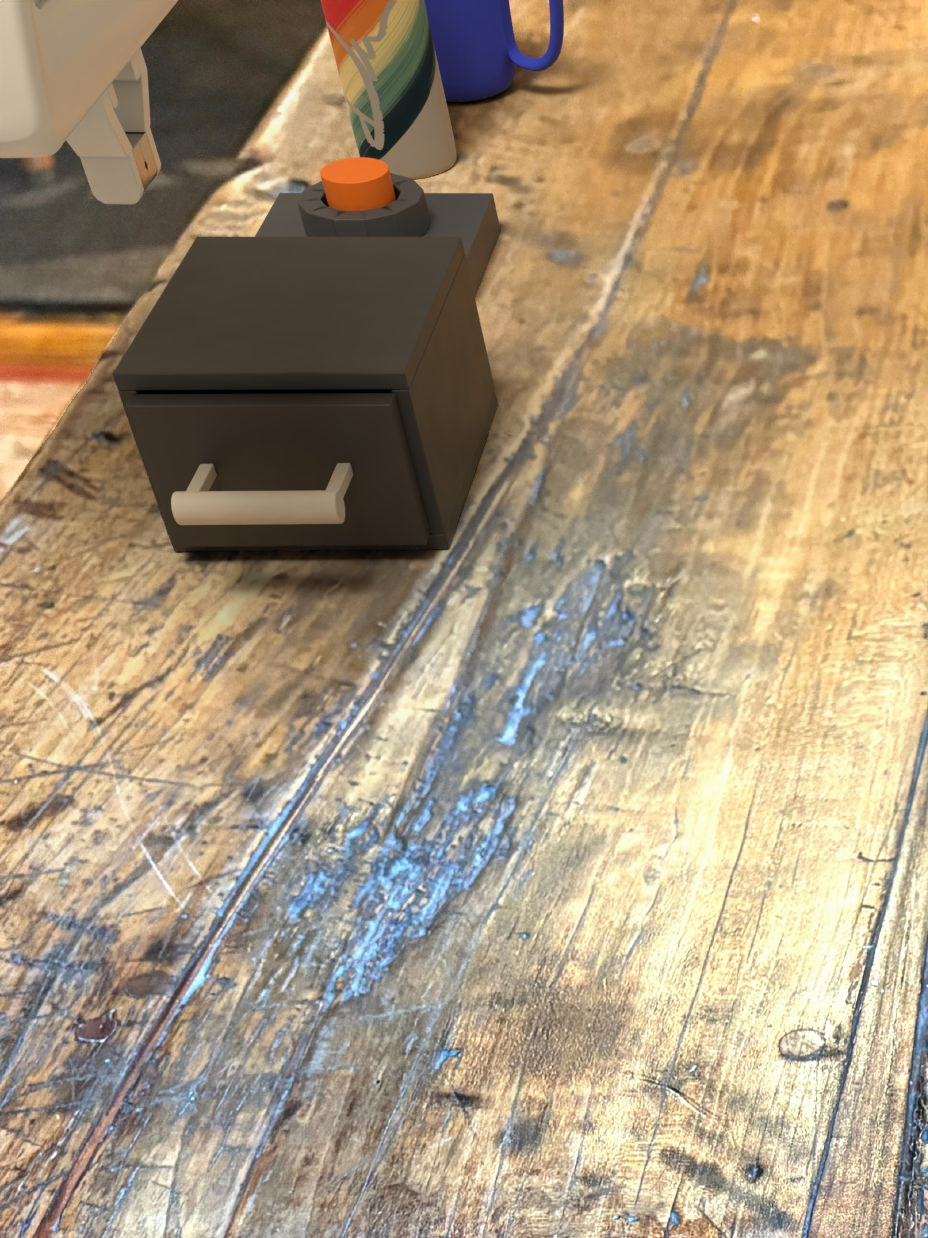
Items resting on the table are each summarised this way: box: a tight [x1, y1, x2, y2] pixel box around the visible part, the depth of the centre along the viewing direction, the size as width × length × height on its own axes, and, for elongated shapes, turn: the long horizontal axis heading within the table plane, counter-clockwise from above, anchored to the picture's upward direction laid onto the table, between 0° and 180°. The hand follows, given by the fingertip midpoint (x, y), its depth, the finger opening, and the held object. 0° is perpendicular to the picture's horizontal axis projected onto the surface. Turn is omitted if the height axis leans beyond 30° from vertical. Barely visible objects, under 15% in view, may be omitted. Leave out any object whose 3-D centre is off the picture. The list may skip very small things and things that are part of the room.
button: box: [319, 156, 396, 211], centre depth 122 cm, size 4×4×2 cm
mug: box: [424, 0, 565, 103], centre depth 140 cm, size 8×12×10 cm
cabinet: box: [112, 236, 499, 552], centre depth 106 cm, size 15×13×9 cm
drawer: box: [126, 389, 431, 547], centre depth 103 cm, size 18×11×7 cm, turn 4°
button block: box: [254, 173, 502, 297], centre depth 124 cm, size 12×10×4 cm
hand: (130, 189), depth 86 cm, fingers closed
